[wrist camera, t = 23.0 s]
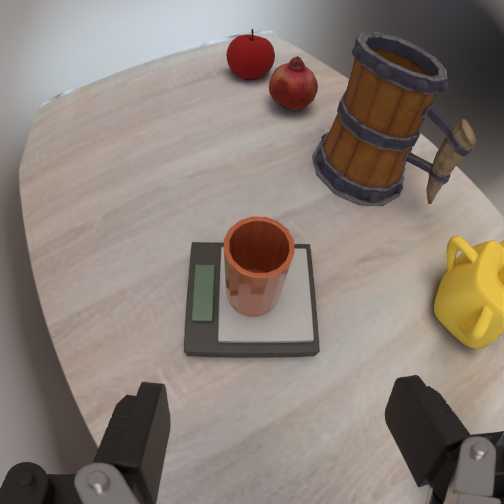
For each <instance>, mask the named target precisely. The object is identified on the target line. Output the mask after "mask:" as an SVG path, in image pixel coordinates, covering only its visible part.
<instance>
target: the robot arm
mask: <svg viewBox="0 0 504 504" xmlns="http://www.w3.org/2000/svg"><path fill="white" fill-rule="evenodd" d="M385 421H386V424H387V426H388V428H389V430H390V432H391V434H392V436H393V438H394V440H395V442H396V444H397V446H398V447H399V449H400V451H401V453H402V455H403V457H404V459H405V461H406V463H407V465H408V467H409V469H410V472H411V474H412V476H413V478H414V480H415V482H416V484H417V486H418V487H421V486H424V485H427V484H430V485H431V487H432V488H431V490H430V491H429V493H428V497H427V500H426V503H425V504H504V445H498V446H494V445H493V444H492V443H491V442H490V441H489V440H487V439H486V438H483V437H479V436H473V437H472V436H471V435H470V434H469V432H468V431H467V429H466V428H465V427H464V425H463V424H462V423H461V421H460V420H459V418H458V417H457V416H456V414H455V413H454V412H453V411H452V409H451V408H450V406H449V405H448V404H446V401H445V400H444V398H443V397H442V396H441V395H440V393H438V392H437V391H435V390H434V389H433V388H431V387H430V386H426V385H425V384H424V382H423V381H422V380H421V378H420V377H419V376H417V375H414V376H407V377H400V378H398V379H397V380H396V381H395V383H394V386H393V389H392V392H391V395H390V398H389V401H388V403H387V406H386V409H385ZM169 433H170V412H169V406H168V400H167V393H166V387H165V384H160V383H149V382H142V383H141V385H140V388H139V390H138V393H137V396H132V395H126V396H125V397H124V398H123V399H122V400H121V401H120V402H118V403H117V405H116V407H115V409H114V412H113V414H112V418H111V419H110V421H109V424H108V427H107V429H106V431H105V434H104V436H103V439H102V441H101V444H100V446H99V449H98V451H97V454H96V457H95V459H94V461H93V463H92V464H88V465H86V466H84V467H82V468H81V469H80V470H79V471H78V472H77V474H71V475H54V474H53V475H52V474H46V472H45V471H44V470H43V468H42V467H40V466H39V465H37V464H35V463H31V462H23V463H19V464H17V465H15V466H13V467H12V468H11V469H10V470H9V471H8V474H7V475H6V477H5V480H4V482H3V484H2V487H1V488H0V504H156V501H157V496H158V490H159V485H160V479H161V474H162V469H163V463H164V458H165V453H166V448H167V443H168V438H169Z"/></svg>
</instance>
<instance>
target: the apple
mask: <svg viewBox="0 0 504 504" xmlns="http://www.w3.org/2000/svg"><path fill="white" fill-rule="evenodd" d="M274 59H275V53H274V49H273V46H272V44H271V43H270V42H269V41H268V40H267V39H265V38H262V37H259V36H255V35H253V29H252V35H249V34H247V35H241V36H238V37H236V38H235V39H234V40H233V41H232V42H231V43H230V45H229V47H228V50H227V62H228V65H229V67H230V69H231V71H232V72H233V73H234V74H236V75H237V76H239V77H241V78H244V79H258V78H261V77H263V76H265V75H266V74H267V73H268V72H269V70H270V69H271V67H272V66H273V63H274Z"/></svg>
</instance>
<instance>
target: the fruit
mask: <svg viewBox="0 0 504 504" xmlns="http://www.w3.org/2000/svg"><path fill="white" fill-rule="evenodd" d="M317 89H318V84H317V80H316V78H315V76H314V74H313V72H312V71H311V70H309V69H308V68H307V67H306V66H305V65H304V63H303V61H302V60H301V58H299V57H298V56H297V57H294V58H292V59H291V60H290V62H289V63H287V64H283V65H281V66H279V67H278V68H277V69H276V70H275V71H274V73H273V75H272V77H271V80H270V83H269V92H270V95H271V97H272V98H273V99H274V100H275V101H276V102H277V103H279V104H280V105H282V106H284V107H286V108H288V109H291V110H298V109H301V108H305V107H306V106H307V105H309V104H310V103H311V102H312V101H313V100H314V98H315V95H316V93H317Z"/></svg>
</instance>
